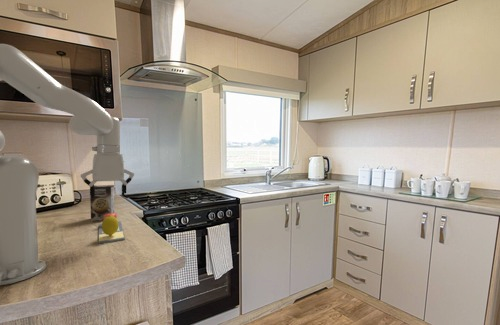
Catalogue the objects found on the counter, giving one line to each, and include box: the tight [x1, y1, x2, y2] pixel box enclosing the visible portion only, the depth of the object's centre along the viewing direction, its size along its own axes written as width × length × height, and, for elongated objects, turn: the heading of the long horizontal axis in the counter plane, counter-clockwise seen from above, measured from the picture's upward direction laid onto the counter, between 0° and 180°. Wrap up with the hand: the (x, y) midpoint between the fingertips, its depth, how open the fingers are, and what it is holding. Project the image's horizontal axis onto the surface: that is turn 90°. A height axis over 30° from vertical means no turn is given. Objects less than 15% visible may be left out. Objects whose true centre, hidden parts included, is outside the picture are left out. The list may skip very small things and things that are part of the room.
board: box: [97, 220, 126, 245], centre depth 101 cm, size 26×8×2 cm, turn 30°
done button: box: [104, 212, 118, 219], centre depth 109 cm, size 5×5×2 cm
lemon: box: [101, 215, 119, 236], centre depth 94 cm, size 6×6×8 cm
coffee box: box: [89, 184, 116, 222], centre depth 121 cm, size 9×6×16 cm
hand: (108, 196), depth 93 cm, fingers open, 9 cm apart
